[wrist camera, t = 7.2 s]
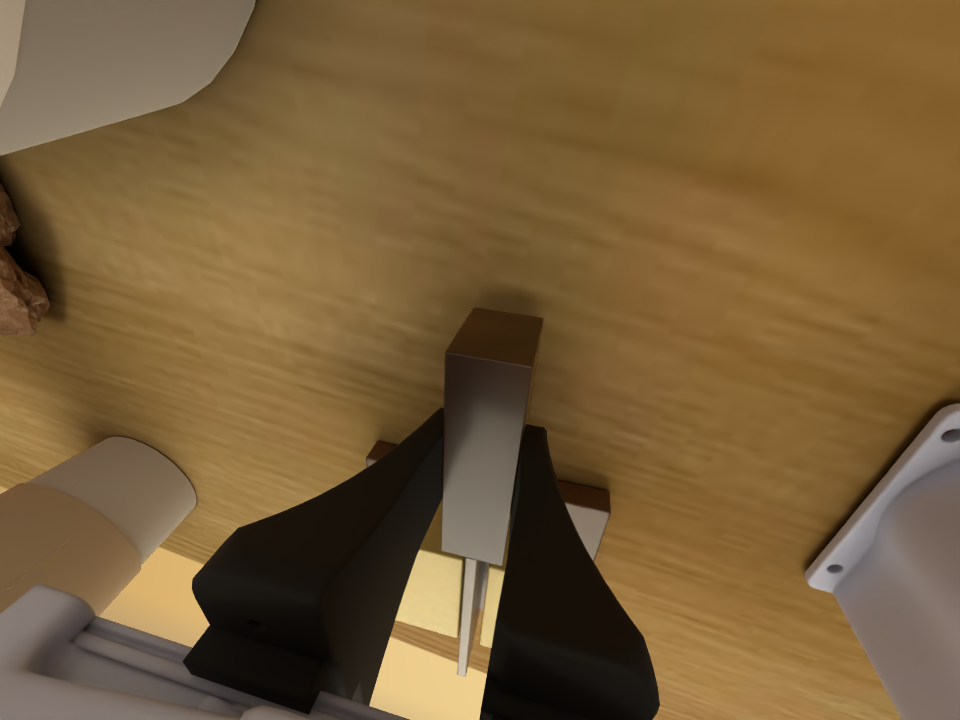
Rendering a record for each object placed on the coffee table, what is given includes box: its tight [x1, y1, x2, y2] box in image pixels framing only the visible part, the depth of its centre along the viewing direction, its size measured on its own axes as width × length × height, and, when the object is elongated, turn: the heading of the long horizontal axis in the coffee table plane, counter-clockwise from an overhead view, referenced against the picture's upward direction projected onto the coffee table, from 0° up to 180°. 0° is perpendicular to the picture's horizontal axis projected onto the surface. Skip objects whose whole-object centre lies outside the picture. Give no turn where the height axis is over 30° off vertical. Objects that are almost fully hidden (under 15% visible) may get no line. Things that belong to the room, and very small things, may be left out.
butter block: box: [395, 500, 466, 638], centre depth 18 cm, size 6×4×3 cm, turn 176°
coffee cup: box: [0, 437, 196, 617], centre depth 19 cm, size 9×9×15 cm
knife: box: [441, 308, 544, 677], centre depth 15 cm, size 2×17×3 cm, turn 176°
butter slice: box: [479, 530, 510, 648], centre depth 18 cm, size 6×2×3 cm, turn 176°
